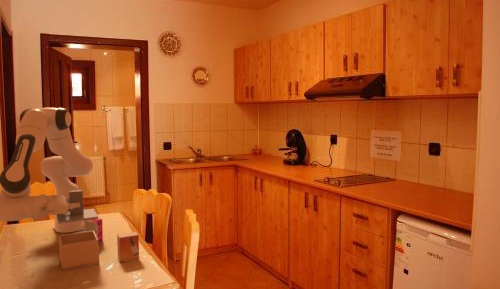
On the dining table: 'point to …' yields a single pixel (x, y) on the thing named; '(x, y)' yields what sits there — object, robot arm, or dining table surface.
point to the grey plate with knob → (77, 210)
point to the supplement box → (95, 228)
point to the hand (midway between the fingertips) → (78, 202)
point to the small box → (128, 246)
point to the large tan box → (78, 249)
